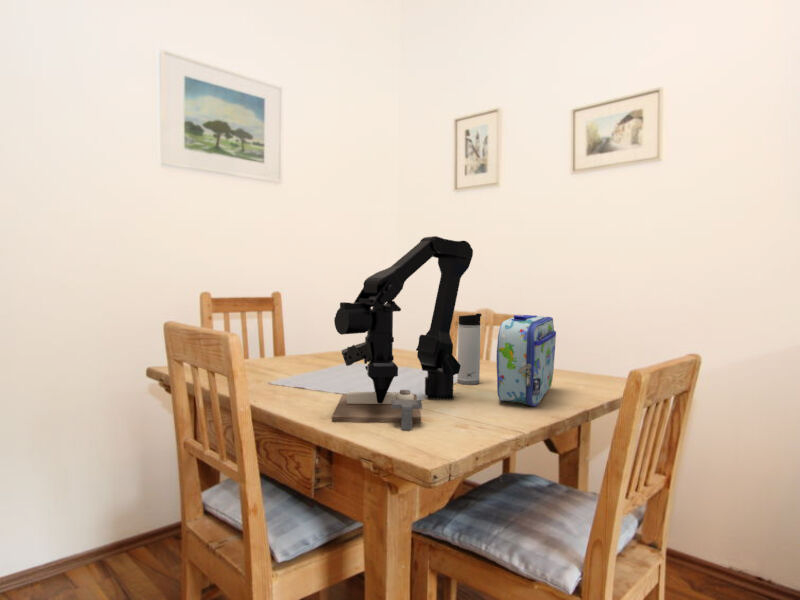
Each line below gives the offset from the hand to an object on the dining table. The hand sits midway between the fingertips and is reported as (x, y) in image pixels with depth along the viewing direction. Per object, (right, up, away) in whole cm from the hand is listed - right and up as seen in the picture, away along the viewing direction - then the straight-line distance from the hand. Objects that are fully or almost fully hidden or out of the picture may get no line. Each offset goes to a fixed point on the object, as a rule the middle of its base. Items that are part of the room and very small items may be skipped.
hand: (379, 400), depth 111 cm
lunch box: (+37, -2, +13) cm, 39 cm away
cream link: (0, 0, 0) cm, 1 cm away
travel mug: (+24, -1, +30) cm, 38 cm away
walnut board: (0, -2, -1) cm, 2 cm away
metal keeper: (+6, -2, -13) cm, 15 cm away
